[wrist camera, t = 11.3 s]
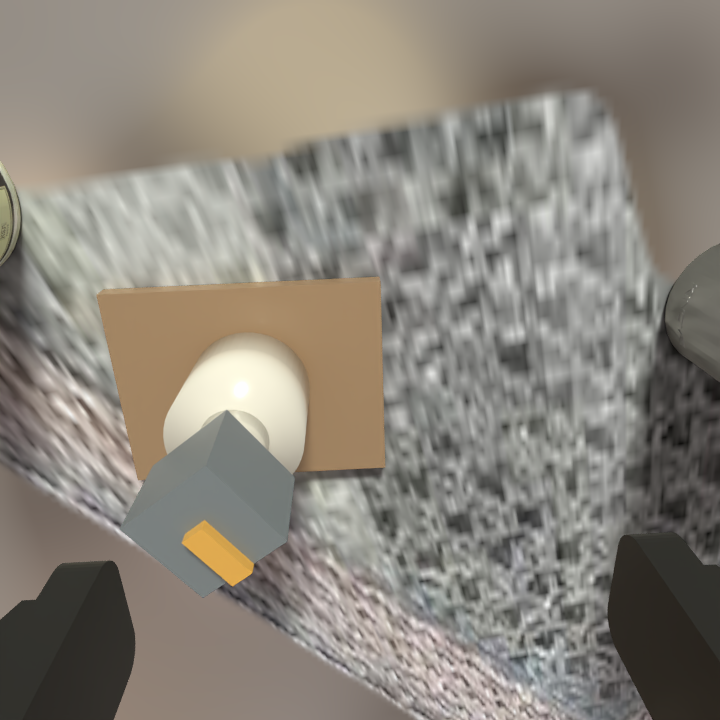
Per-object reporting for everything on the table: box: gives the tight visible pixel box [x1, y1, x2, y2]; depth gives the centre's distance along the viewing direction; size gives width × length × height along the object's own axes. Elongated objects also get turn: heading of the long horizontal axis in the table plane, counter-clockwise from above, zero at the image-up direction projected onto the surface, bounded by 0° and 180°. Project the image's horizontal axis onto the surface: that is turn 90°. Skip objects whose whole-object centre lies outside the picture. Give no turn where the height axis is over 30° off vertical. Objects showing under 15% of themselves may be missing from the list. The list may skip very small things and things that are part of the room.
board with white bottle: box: [97, 277, 385, 480], centre depth 36 cm, size 18×14×11 cm
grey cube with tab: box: [120, 410, 295, 598], centre depth 28 cm, size 5×5×6 cm
